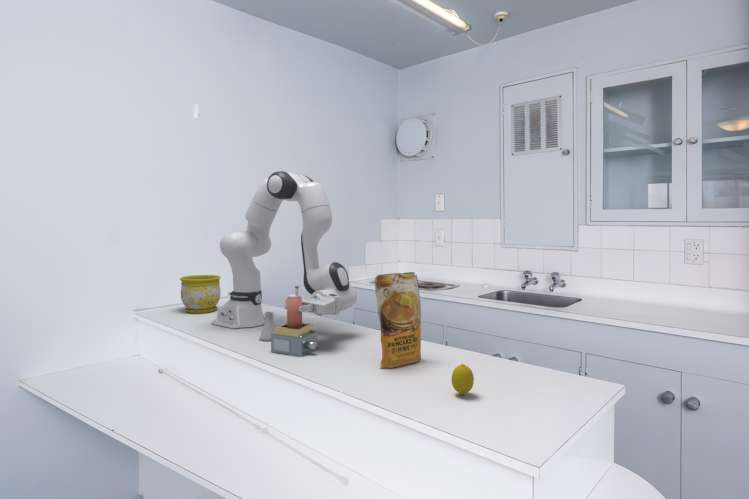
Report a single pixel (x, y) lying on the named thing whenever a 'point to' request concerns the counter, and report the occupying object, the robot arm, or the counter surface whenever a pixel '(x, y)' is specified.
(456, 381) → the lemon
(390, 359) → the pancake mix bag
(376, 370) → the counter surface
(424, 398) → the counter surface
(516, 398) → the counter surface
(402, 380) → the counter surface
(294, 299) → the spout can
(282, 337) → the box
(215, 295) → the flowerpot
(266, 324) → the flask
